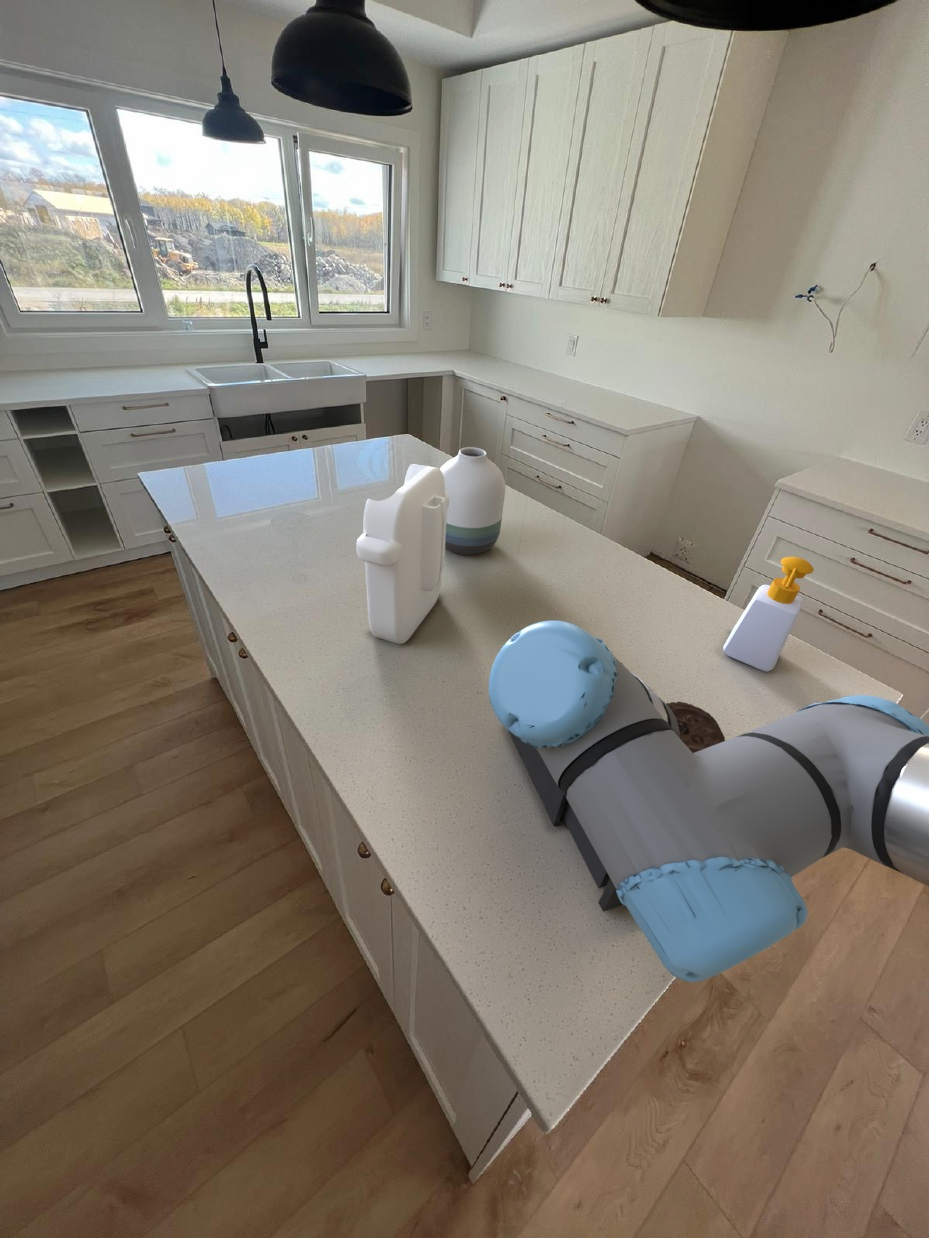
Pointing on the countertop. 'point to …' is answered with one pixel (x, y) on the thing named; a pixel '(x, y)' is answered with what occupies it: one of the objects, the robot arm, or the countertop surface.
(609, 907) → the grey drawer with handle
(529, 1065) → the countertop surface
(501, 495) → the vase
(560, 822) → the black drawer box
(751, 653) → the soap bottle
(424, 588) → the white jerry can
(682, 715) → the coffee cup
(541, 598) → the countertop surface
